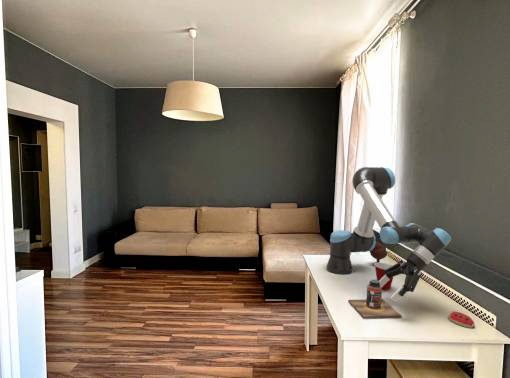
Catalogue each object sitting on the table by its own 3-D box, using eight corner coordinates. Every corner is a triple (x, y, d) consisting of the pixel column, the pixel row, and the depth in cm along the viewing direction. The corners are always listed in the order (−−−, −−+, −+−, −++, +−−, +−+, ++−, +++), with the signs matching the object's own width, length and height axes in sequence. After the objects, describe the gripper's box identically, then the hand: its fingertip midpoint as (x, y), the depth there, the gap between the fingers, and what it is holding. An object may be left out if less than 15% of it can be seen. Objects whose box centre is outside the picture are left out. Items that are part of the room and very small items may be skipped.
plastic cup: (398, 293, 150) (399, 269, 149) (375, 291, 152) (376, 267, 151) (393, 285, 160) (394, 262, 160) (371, 283, 162) (372, 261, 162)
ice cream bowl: (385, 269, 187) (386, 245, 186) (366, 266, 192) (367, 242, 192) (388, 264, 196) (389, 241, 195) (370, 261, 201) (371, 239, 201)
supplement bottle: (374, 310, 128) (375, 284, 127) (363, 305, 133) (364, 279, 132) (384, 308, 131) (385, 282, 130) (373, 302, 136) (374, 277, 135)
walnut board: (348, 301, 139) (348, 299, 139) (382, 301, 140) (382, 298, 140) (363, 318, 123) (363, 316, 123) (401, 317, 124) (401, 315, 124)
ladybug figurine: (453, 316, 127) (454, 307, 127) (479, 327, 118) (480, 318, 118) (443, 319, 124) (443, 310, 124) (469, 331, 115) (469, 321, 115)
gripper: (445, 274, 119) (406, 312, 119) (408, 256, 144) (376, 288, 144) (432, 260, 119) (394, 299, 118) (398, 245, 144) (366, 277, 143)
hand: (384, 293), depth 131 cm, fingers open, 13 cm apart
